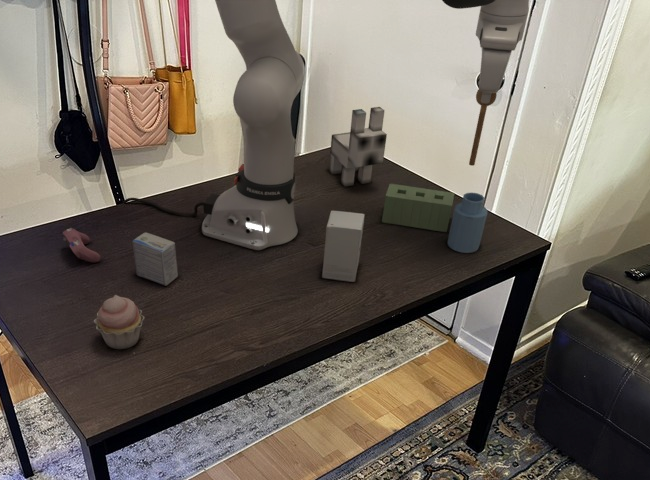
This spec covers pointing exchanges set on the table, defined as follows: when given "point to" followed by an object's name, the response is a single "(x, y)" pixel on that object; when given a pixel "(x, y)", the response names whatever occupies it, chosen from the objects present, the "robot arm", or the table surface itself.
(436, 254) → the table surface
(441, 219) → the stand
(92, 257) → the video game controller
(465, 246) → the bottle
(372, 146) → the blocky rabbit figurine
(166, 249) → the medicine box
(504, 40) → the robot arm
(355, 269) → the white packaging box
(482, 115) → the spoon
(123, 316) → the cupcake
